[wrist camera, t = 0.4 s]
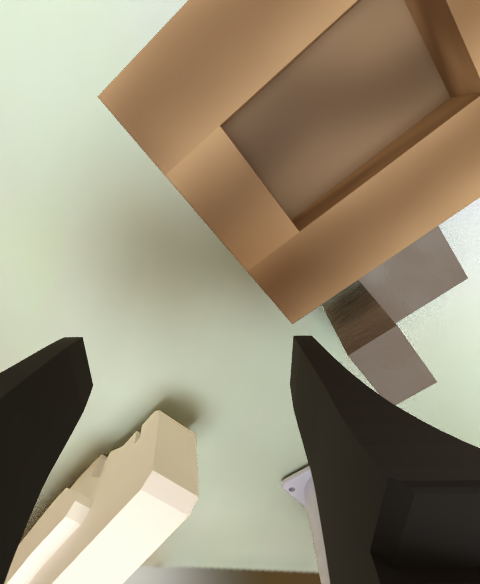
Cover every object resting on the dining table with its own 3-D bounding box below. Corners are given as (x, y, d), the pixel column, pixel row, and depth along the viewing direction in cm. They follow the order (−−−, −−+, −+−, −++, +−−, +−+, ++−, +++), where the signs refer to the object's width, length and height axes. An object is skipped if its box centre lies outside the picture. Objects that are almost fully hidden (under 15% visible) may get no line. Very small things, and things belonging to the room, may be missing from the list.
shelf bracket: (-19, 549, 32) (-138, 758, 20) (154, 357, 30) (134, 467, 18) (34, 571, 34) (-47, 778, 22) (202, 391, 31) (214, 513, 19)
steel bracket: (455, 270, 21) (541, 323, 15) (350, 337, 23) (390, 407, 17) (426, 219, 20) (508, 256, 14) (317, 295, 22) (348, 355, 16)
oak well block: (538, 122, 18) (593, 120, 15) (285, 300, 22) (292, 324, 19) (411, -199, 13) (458, -287, 10) (119, 102, 17) (97, 96, 14)
